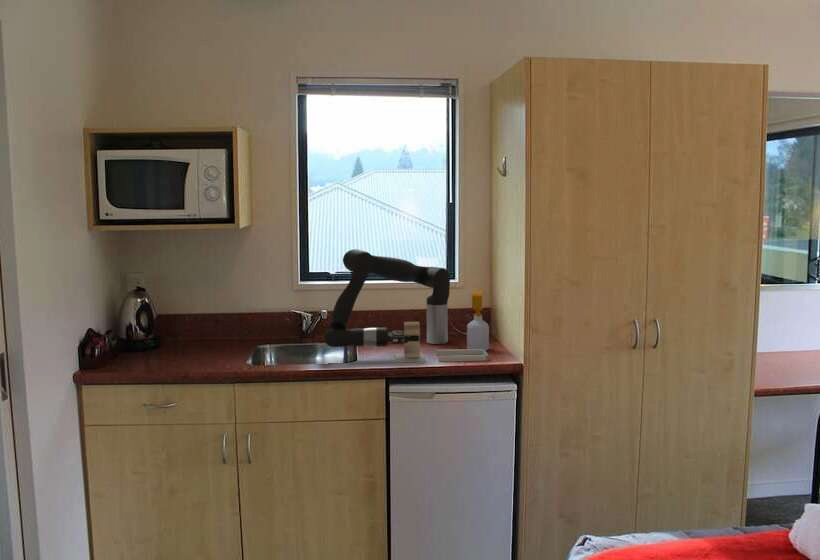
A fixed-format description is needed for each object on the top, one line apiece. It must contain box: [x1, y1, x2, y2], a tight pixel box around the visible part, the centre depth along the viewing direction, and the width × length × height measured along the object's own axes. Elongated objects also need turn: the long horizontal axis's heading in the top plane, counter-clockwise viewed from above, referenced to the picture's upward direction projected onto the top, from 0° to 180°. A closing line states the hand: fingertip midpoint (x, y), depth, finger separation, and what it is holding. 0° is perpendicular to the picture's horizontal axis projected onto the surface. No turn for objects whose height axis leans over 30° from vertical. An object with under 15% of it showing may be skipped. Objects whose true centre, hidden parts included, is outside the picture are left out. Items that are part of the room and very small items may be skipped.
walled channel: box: [436, 348, 490, 362], centre depth 255 cm, size 11×20×2 cm, turn 92°
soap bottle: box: [466, 290, 490, 352], centre depth 268 cm, size 9×9×25 cm
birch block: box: [403, 321, 421, 357], centre depth 253 cm, size 5×6×13 cm
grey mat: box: [394, 353, 427, 363], centre depth 254 cm, size 12×12×1 cm
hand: (418, 336), depth 253 cm, fingers closed on birch block, 5 cm apart
